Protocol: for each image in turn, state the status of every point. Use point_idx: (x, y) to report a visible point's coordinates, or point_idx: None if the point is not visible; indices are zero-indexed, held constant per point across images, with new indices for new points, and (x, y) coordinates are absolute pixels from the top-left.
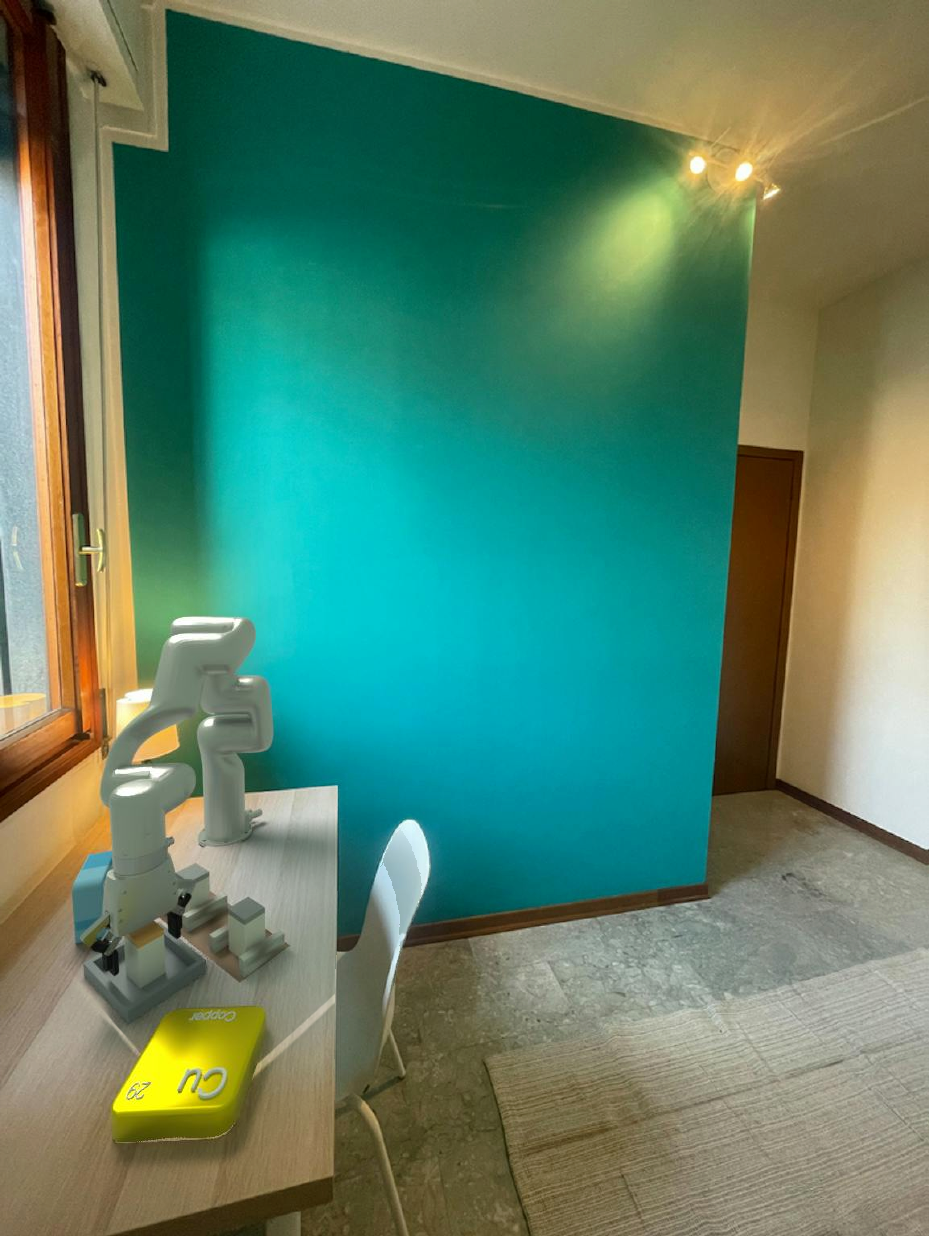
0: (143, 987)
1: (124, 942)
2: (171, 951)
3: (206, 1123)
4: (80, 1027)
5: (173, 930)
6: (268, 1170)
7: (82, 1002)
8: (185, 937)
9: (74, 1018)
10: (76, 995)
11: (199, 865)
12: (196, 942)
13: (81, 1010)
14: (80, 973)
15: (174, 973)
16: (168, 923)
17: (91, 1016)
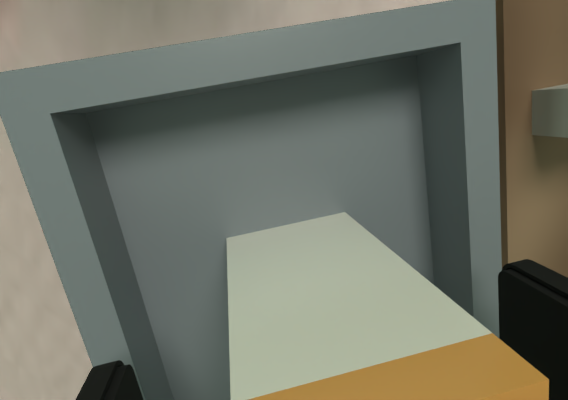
0: None
1: (230, 359)
2: (428, 224)
3: None
4: (26, 390)
5: (540, 371)
6: None
7: (37, 252)
8: (510, 167)
9: (2, 328)
10: (10, 183)
11: None
12: (523, 238)
13: (32, 299)
14: (32, 9)
15: None
16: (564, 318)
17: (70, 358)
